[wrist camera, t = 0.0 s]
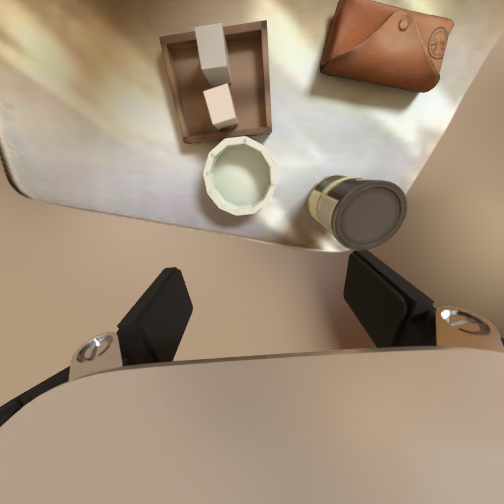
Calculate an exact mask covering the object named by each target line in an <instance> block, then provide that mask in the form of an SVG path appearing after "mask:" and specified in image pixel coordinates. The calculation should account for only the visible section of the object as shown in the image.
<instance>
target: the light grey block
mask: <svg viewBox="0 0 504 504" xmlns="http://www.w3.org/2000/svg"><path fill="white" fill-rule="evenodd" d="M194 28H195V33H196V39H197V45H198V51H199V57H200V63H201V68H202V71H203V73H204V75H205V77H206V78H207V80H208V82H209V84H210V86H216V85H223V84H227V83H228V84H230V83H232V82H231V74H230V65H229V57H228V49H227V44H226V40H225V35H224V31H223V26H222V23H217V24H211V25H204V26H198V27H194Z"/></svg>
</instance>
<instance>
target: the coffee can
mask: <svg viewBox="0 0 504 504" xmlns="http://www.w3.org/2000/svg"><path fill="white" fill-rule="evenodd" d="M308 209H309V212H310V214H311V215H312V217H313V218H314V219H316V220H317V221H318V222H319V223H320V224H321V225H322V226H323V227H325V228H326V229H327V230H328V231H329V232H330V233H331V234H332V235H333V236H334V237H335V238H336V239H337V241H338V242H339V243H340V244H342V245H343V246H344V247H346V248H349V249H352V250H368V249H372V248H375V247H377V246H379V245H381V244H383V243H385V242H386V241H388V240H389V239H390V238H391V237H392V236H393V235H394V234H395V233H396V232H397V231H398V229H399V228H400V227H401V225H402V223H403V222H404V219H405V217H406V212H407V200H406V196H405V194H404V192H403V191H402V189H401V188H400V187H398V186H397V185H396V184H394V183H392V182H388V181H382V180H370V179H363V178H355V177H349V176H344V175H338V174H337V175H330V176H327V177H325V178H323V179H321V180H320V181H319V182H318V183H317V184H316V185H315V186H314V187H313V189H312V190H311V192H310V195H309V198H308Z"/></svg>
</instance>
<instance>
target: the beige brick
mask: <svg viewBox="0 0 504 504" xmlns="http://www.w3.org/2000/svg"><path fill="white" fill-rule="evenodd" d="M203 92H204V96H205V99H206V103H207V106H208V110H209V113H210V117H211V120H212V124H213V125H214V126H215V127H216V128H217V129H218V130H219V131H220V130H223V129H226V128H230V127H233V126H236V125H238V121H237V117H236V113H235V108H234V104H233V100H232V96H231V93H230V90H229V87H228V83H227V84H224V85H221V86H218V87H215V88H212V89H209V90H206V91H203Z"/></svg>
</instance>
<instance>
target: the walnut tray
mask: <svg viewBox="0 0 504 504" xmlns="http://www.w3.org/2000/svg"><path fill="white" fill-rule="evenodd" d="M223 31H224V35H225V40H226V44H227V49H228V57H229V65H230V74H231V82H232V83H230V84H228V87H229V90H230V93H231V96H232V100H233V104H234V108H235V113H236V117H237V121H238V125H236V126H233V127H230V128H226V129H223V130H220V131H219V130H218V129H217V128H216V127H215V126H214V125H213V124H212V120H211V117H210V113H209V110H208V106H207V103H206V99H205V96H204V92H203V91H206V90H209V89H212V88H215V87H218V86H221V85H216V86H210V84H209V82H208V80H207V78H206V77H205V75H204V73H203V71H202V68H201V63H200V57H199V51H198V45H197V39H196V33H195V31H194V32H188V33H182V34H175V35H169V36H163V37H159V38H160V43H161V47H162V51H163V55H164V60H165V64H166V68H167V72H168V77H169V81H170V85H171V89H172V94H173V98H174V102H175V106H176V110H177V115H178V119H179V123H180V127H181V132H182V136H183V140H184V143H187V144H191V143H199V142H207V141H215V140H223V139H225V138H233V137H241V136H255V135H263V134H271V132H272V123H271V102H270V81H269V59H268V38H267V20H265V21H258V22H252V23H246V24H239V25H233V26H226V27H223ZM223 85H224V84H223Z"/></svg>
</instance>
